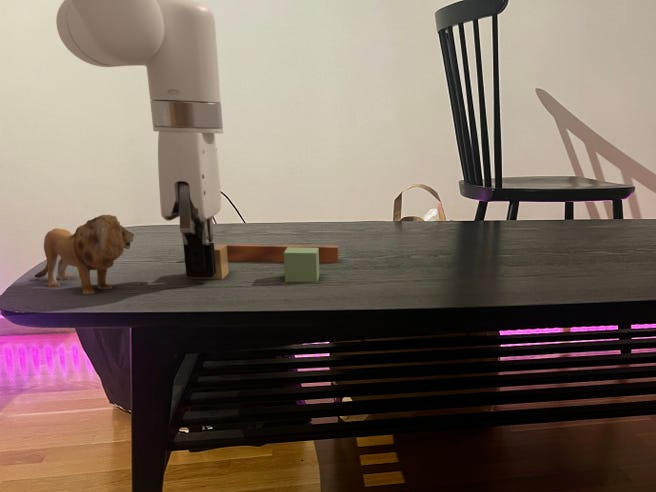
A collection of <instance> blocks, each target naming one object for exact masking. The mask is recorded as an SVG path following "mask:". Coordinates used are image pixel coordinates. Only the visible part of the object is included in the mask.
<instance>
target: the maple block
mask: <svg viewBox="0 0 656 492" xmlns="http://www.w3.org/2000/svg"><path fill="white" fill-rule="evenodd" d="M214 249H215V262H216V274H215V275H214V276H213V277H189V279H190V280H223V279H225V277H226V276H227V275H228V274H229V261H228V258H227V245H214Z"/></svg>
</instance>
